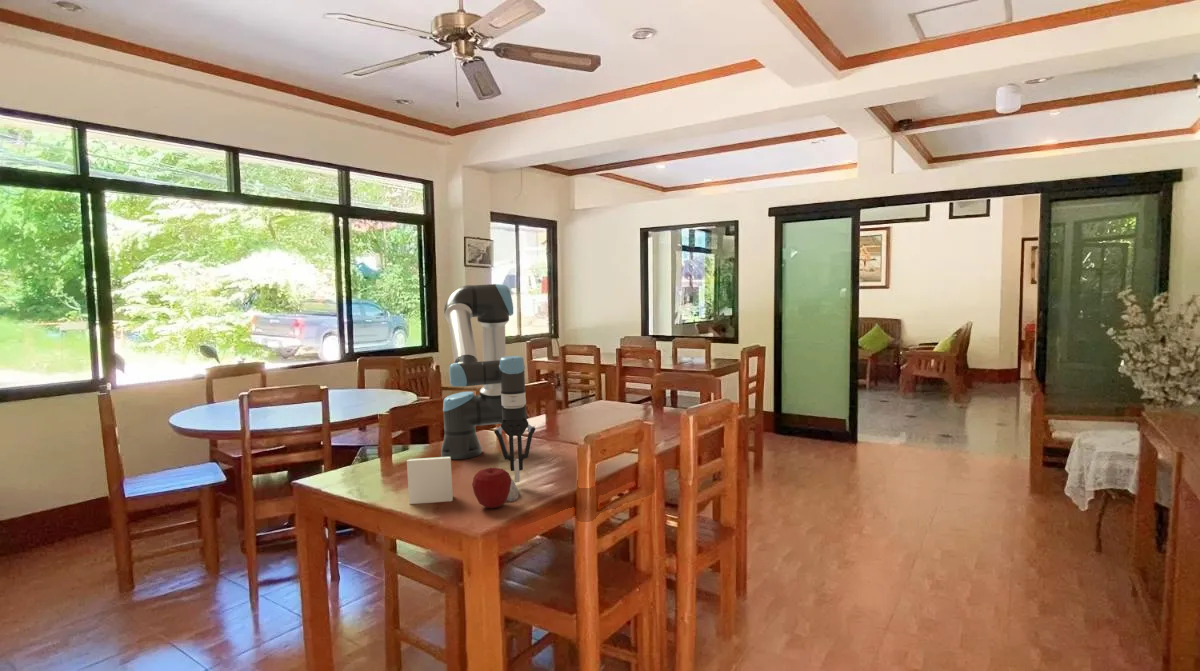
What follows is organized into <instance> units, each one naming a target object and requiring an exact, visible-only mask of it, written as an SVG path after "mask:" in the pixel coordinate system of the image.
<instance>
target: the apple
mask: <svg viewBox="0 0 1200 671" xmlns="http://www.w3.org/2000/svg"><path fill="white" fill-rule="evenodd" d="M510 477H511V475H510V473H509V472H508V471H507V470H505V469H504V468H498V467H487V468H484V469H480V470H478V472H476V473H475V474H474V477H473V480H472V484H471V485H472V489H473V494H474V496H475V498H476V499H477V502H478V504H480V505H481V506H482V507H484V508H487V509H498V508H500V507H501V506H502V505H504V504H505V503H507V502H506V500H507V497H508V495H509V492H510V486H511V479H512V477H511V478H510Z"/></svg>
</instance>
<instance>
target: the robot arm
mask: <svg viewBox="0 0 1200 671" xmlns="http://www.w3.org/2000/svg"><path fill="white" fill-rule="evenodd" d="M443 311H444V313H443V314H444V318H445V320H446V321H447V323H448V328H449V335H450V342H451V351H452V358H453V363H450V364H449V365H448V378H449V384H450V386H451V387H452V388H453V387H454V388H455V387H457V388H458V387H462V388H464V387H465V388H466V387H473V386H474V387H475V386H482V387H481V388H480V389H479V394H475V393H474V392H473V391H461V392H457V393H456V392H455V393H453V394H450V395H447V396H446V397H445V398H444V399H443V402H442V405H443V406H442V412H443V429H444V436H443V441H442V445H441V448H440V457H451V460H463V459H465V460H466V459H471V458H474V457H477V456H480V455H481V454H482V446H481V443H480V440H479V437H478V435H477V432H476V431H477V429H476V427H478V426H479V427H480V426H488V425H489V426H490V425H498V424H499V425H500V426H499V427H498V428H497V427H496V428H494V431H493V432H494V435H495V436H496V437H497V440H498V442H499V445H500V449H501V453H502V455H503V459H504V460H506V461H507V460H508V461H509V463H510V464H509V466H510V467H509V468H510V471H511V472H513V473H514V474H513V476H514V483H519V482H520V480H521V479H520V476H521V474H520V471H523V470H524V469H523V468H524V464H523V463H524V460H525V459H528V458H529V454H530V447H531V443H532V438H533V435H534V434H535V432H536V426H534V425H533V426H532V425H531V424H529V421H528V419H527V407H526V404H527V399H526V394H527V393H526V379H525V376H526V375H525V373H526V372H525V370H526V366H525V361H524V357H522V356H521V355H507V354H506V349H507V348H506V324H508V323H509V321H510V316H513V315H514V303H513V298H512V292H511V290H510V288H509V286H508V285H506V284H501V283H500V284H498V283H493V284H474V285H471V284H467V285H466V284H465V285H463V286H460V287H459V288H457V289H456V290H454V291H453V292H452V293H451V294H450V295H449V296H448V298H447V300H446V301H445V304H444V309H443ZM472 318H477V323H479V324H480V326H481V332H482V333H481V336H482V338H481V339H482V361H478V355H477V350H476V344H475V338H474V333H473V327H472V326H473V325H472V320H471V319H472ZM526 430H527V432H528V435H527V439H526V444H525V448H524V453H523V442H522V440H523V438H522V435H523V434H524V433H525V432H526ZM503 431H504V433H505V434H506V435H507V436H508V441H509V442H508V444H509V445H508V447H509V454H508V451H507V447H506V443H505V441H504V437H503ZM514 437H517V455H518V457H517V458H515V448H514V447H515V444H514Z"/></svg>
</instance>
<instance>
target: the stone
mask: <svg viewBox="0 0 1200 671" xmlns="http://www.w3.org/2000/svg"><path fill="white" fill-rule="evenodd" d="M510 478H511V486H510V492H509V495H508V497H507V500H506V502H505V503H509V502H513V501H517V500H518V498H519V489H518V487H517V485H516V482H515V480H513V479H512V476H510Z"/></svg>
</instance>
